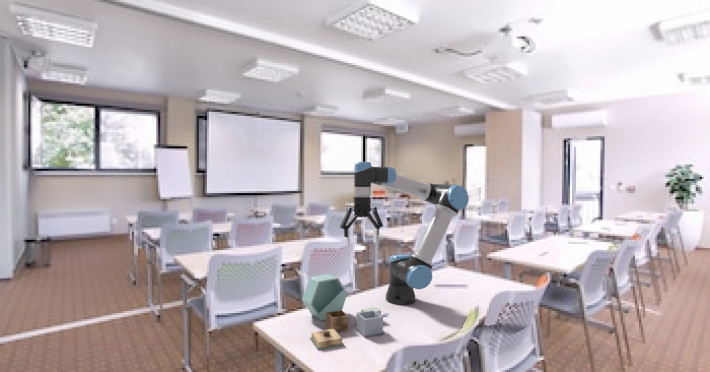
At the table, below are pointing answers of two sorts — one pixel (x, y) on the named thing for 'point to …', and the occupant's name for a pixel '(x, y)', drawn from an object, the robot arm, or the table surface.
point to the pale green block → (372, 309)
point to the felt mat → (325, 347)
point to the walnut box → (337, 321)
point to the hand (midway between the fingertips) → (361, 243)
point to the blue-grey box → (369, 323)
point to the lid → (326, 338)
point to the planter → (324, 295)
